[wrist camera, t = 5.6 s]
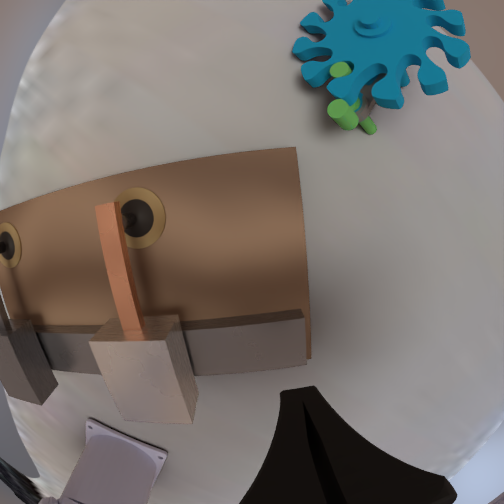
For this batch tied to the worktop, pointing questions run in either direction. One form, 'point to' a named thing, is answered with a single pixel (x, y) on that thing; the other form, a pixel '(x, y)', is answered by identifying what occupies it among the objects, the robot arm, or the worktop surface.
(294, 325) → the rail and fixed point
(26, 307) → the hole board
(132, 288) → the slider
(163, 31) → the worktop surface
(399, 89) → the gear
